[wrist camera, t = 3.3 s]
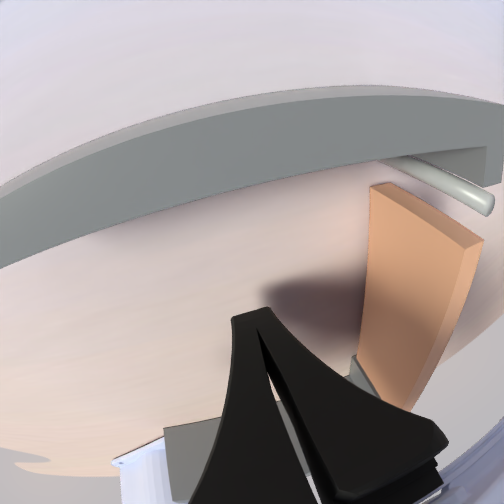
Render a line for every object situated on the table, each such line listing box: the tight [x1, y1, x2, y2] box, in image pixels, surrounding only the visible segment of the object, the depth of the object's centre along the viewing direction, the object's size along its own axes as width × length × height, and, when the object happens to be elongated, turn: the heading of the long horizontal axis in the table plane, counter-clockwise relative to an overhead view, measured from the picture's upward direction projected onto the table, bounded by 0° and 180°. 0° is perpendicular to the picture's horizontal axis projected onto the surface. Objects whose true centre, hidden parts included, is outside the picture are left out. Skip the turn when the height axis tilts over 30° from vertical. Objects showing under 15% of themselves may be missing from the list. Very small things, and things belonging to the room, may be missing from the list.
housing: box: [0, 85, 504, 503], centre depth 10 cm, size 14×18×6 cm
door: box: [356, 183, 484, 412], centre depth 11 cm, size 2×10×5 cm, turn 10°
